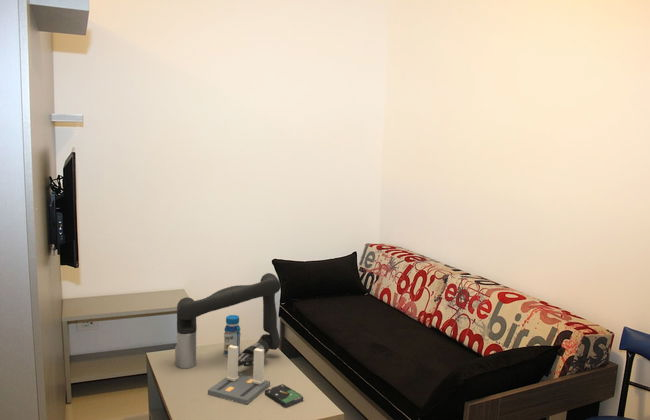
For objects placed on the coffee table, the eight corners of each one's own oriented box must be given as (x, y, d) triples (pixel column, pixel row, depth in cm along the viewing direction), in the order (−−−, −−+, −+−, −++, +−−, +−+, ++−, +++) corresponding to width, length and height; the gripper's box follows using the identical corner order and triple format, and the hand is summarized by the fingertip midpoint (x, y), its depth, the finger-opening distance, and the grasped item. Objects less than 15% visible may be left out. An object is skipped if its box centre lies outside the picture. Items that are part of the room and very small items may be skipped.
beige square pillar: (226, 379, 240) (226, 347, 238) (230, 376, 244) (231, 344, 242) (234, 381, 239) (235, 349, 237) (238, 378, 242) (239, 346, 240)
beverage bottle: (243, 354, 275) (244, 317, 273) (230, 358, 269) (230, 320, 266) (233, 349, 281) (234, 313, 278) (220, 353, 275) (221, 316, 272)
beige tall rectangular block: (251, 382, 238) (252, 350, 236) (256, 379, 241) (256, 347, 239) (260, 384, 237) (261, 352, 235) (264, 381, 240) (265, 349, 238)
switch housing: (207, 394, 231) (207, 389, 231) (233, 376, 249) (233, 372, 249) (247, 404, 223) (247, 400, 223) (270, 385, 241) (270, 381, 241)
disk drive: (264, 396, 233) (285, 409, 222) (264, 390, 232) (285, 402, 222) (282, 389, 240) (303, 401, 229) (282, 383, 239) (304, 395, 229)
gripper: (242, 343, 259) (222, 355, 244) (265, 348, 254) (246, 361, 239) (241, 357, 260) (221, 371, 245) (265, 363, 255) (246, 377, 240)
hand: (234, 366), depth 242 cm, fingers closed
